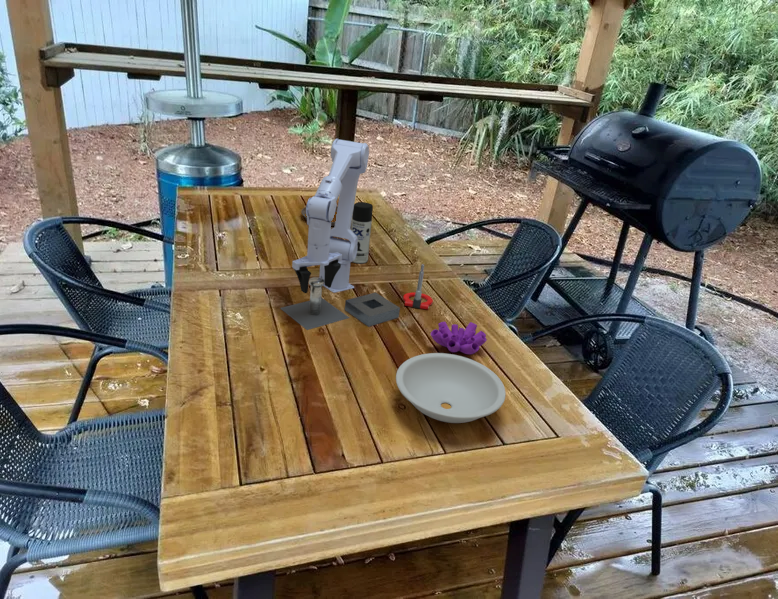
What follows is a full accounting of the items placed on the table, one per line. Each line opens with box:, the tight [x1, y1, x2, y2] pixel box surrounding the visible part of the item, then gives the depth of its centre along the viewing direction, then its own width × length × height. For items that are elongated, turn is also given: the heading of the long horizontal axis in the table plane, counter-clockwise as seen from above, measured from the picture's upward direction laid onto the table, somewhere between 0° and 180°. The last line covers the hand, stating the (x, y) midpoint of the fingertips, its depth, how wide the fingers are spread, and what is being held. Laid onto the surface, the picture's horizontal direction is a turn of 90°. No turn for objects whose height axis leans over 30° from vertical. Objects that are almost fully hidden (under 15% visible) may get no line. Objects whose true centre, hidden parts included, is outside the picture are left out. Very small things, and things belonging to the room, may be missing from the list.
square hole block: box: [344, 292, 401, 328], centre depth 159 cm, size 11×11×4 cm
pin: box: [308, 276, 324, 315], centre depth 154 cm, size 4×4×10 cm
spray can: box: [350, 201, 374, 265], centre depth 190 cm, size 7×7×20 cm
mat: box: [279, 297, 350, 331], centre depth 156 cm, size 14×14×1 cm
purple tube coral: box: [430, 321, 488, 355], centre depth 146 cm, size 11×15×10 cm
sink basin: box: [395, 352, 507, 424], centre depth 123 cm, size 24×24×7 cm
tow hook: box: [402, 263, 434, 310], centre depth 168 cm, size 9×14×10 cm
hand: (316, 288), depth 153 cm, fingers open, 7 cm apart
